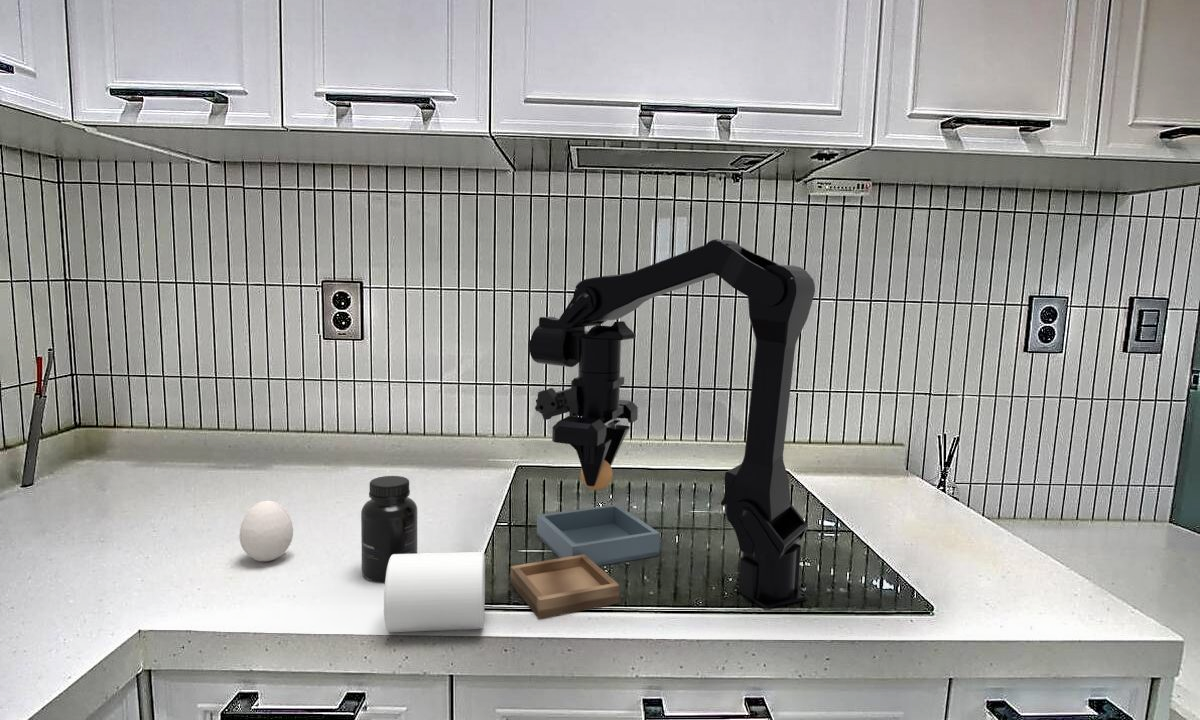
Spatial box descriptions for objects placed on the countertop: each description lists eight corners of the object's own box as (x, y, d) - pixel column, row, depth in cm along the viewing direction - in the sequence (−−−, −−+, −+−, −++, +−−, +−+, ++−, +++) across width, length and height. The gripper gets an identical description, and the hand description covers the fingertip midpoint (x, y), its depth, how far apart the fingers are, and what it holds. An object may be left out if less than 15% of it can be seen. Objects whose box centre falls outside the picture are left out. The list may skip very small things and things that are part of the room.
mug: (482, 642, 75) (482, 569, 74) (383, 647, 74) (382, 572, 73) (486, 591, 87) (486, 528, 86) (401, 594, 86) (400, 530, 85)
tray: (584, 570, 93) (584, 554, 93) (619, 603, 85) (619, 585, 84) (510, 583, 89) (510, 566, 89) (539, 619, 80) (539, 600, 80)
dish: (616, 524, 110) (617, 504, 110) (659, 555, 99) (659, 533, 98) (536, 536, 105) (537, 515, 104) (572, 570, 93) (572, 547, 93)
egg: (284, 546, 99) (282, 490, 98) (301, 561, 94) (299, 502, 93) (234, 558, 95) (231, 500, 94) (249, 574, 90) (247, 513, 89)
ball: (603, 483, 104) (604, 453, 103) (617, 492, 100) (618, 460, 99) (575, 486, 102) (575, 455, 101) (588, 496, 98) (589, 464, 97)
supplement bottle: (352, 581, 89) (349, 486, 87) (376, 559, 95) (374, 471, 94) (405, 585, 88) (404, 490, 86) (426, 563, 95) (425, 474, 93)
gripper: (570, 359, 110) (568, 458, 112) (516, 375, 93) (514, 492, 95) (640, 364, 106) (636, 466, 108) (597, 381, 89) (594, 503, 91)
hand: (596, 480), depth 101 cm, fingers closed on ball, 4 cm apart
